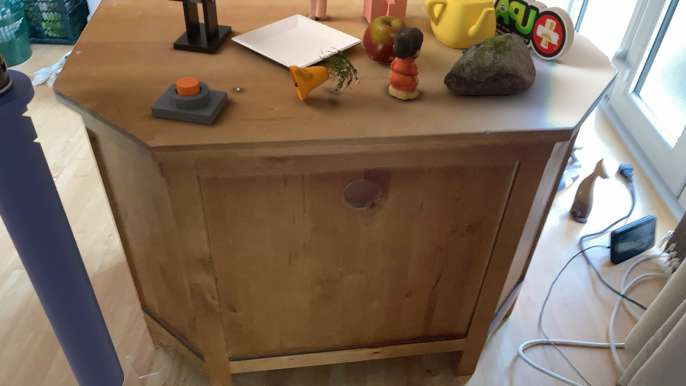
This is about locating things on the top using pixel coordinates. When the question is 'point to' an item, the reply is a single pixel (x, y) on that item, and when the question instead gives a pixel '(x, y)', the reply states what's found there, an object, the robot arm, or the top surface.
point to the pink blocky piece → (384, 9)
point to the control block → (190, 105)
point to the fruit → (382, 38)
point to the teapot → (462, 21)
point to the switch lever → (193, 0)
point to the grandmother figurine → (317, 9)
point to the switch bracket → (202, 29)
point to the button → (188, 86)
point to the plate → (296, 41)
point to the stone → (493, 67)
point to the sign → (536, 26)
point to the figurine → (405, 63)
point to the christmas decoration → (321, 75)
